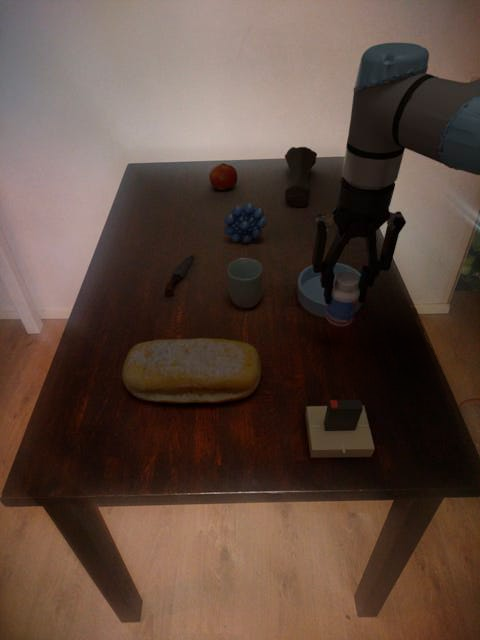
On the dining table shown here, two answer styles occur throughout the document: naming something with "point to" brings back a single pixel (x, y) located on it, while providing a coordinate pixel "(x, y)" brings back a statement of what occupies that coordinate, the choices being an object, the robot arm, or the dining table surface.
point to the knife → (178, 275)
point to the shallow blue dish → (317, 289)
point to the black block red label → (342, 415)
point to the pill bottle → (343, 299)
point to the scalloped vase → (299, 175)
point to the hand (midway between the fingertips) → (343, 298)
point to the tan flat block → (337, 437)
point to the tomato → (223, 176)
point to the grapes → (245, 223)
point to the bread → (192, 370)
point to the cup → (245, 282)
